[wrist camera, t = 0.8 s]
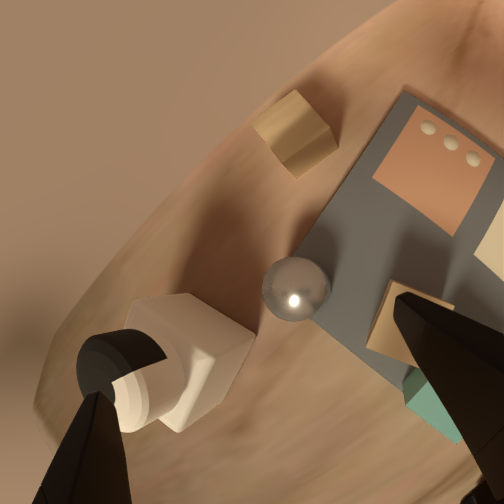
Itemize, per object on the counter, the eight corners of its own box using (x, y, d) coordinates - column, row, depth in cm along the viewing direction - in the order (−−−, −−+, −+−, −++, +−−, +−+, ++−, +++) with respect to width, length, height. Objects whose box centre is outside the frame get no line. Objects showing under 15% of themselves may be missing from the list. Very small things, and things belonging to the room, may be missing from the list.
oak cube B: (330, 127, 19) (295, 89, 20) (281, 163, 20) (250, 122, 21) (338, 148, 23) (308, 112, 24) (297, 178, 24) (269, 142, 25)
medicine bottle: (161, 357, 28) (58, 391, 17) (188, 290, 27) (75, 301, 16) (223, 401, 26) (131, 466, 15) (258, 334, 25) (164, 380, 14)
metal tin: (343, 281, 22) (338, 283, 19) (308, 326, 22) (298, 334, 19) (298, 246, 23) (286, 243, 20) (266, 291, 24) (250, 294, 21)
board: (579, 241, 15) (585, 240, 14) (455, 429, 18) (458, 435, 17) (403, 96, 21) (403, 90, 20) (274, 285, 24) (269, 285, 23)
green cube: (492, 365, 17) (510, 383, 13) (447, 418, 18) (456, 444, 14) (447, 327, 19) (461, 339, 15) (402, 382, 19) (405, 405, 16)
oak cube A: (441, 299, 19) (454, 305, 15) (418, 353, 19) (426, 371, 15) (390, 278, 20) (392, 281, 17) (367, 333, 21) (365, 347, 17)
